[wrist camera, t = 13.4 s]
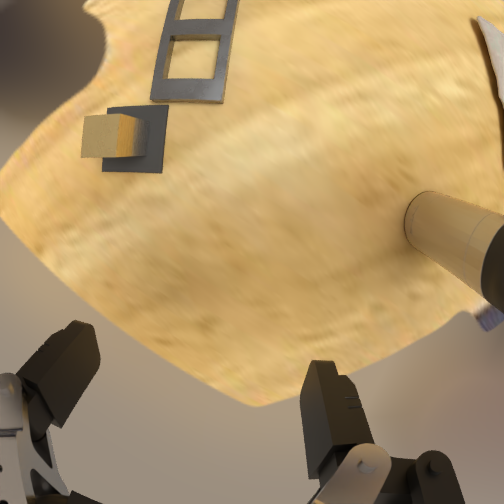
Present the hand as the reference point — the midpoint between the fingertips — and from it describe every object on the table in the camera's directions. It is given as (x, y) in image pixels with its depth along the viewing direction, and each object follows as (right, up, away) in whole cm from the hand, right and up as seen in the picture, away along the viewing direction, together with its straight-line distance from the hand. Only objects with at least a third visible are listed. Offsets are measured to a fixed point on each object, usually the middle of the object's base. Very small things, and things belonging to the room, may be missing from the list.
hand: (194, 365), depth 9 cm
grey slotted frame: (-5, +33, +18) cm, 38 cm away
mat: (-13, +19, +23) cm, 33 cm away
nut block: (-13, +19, +23) cm, 32 cm away
